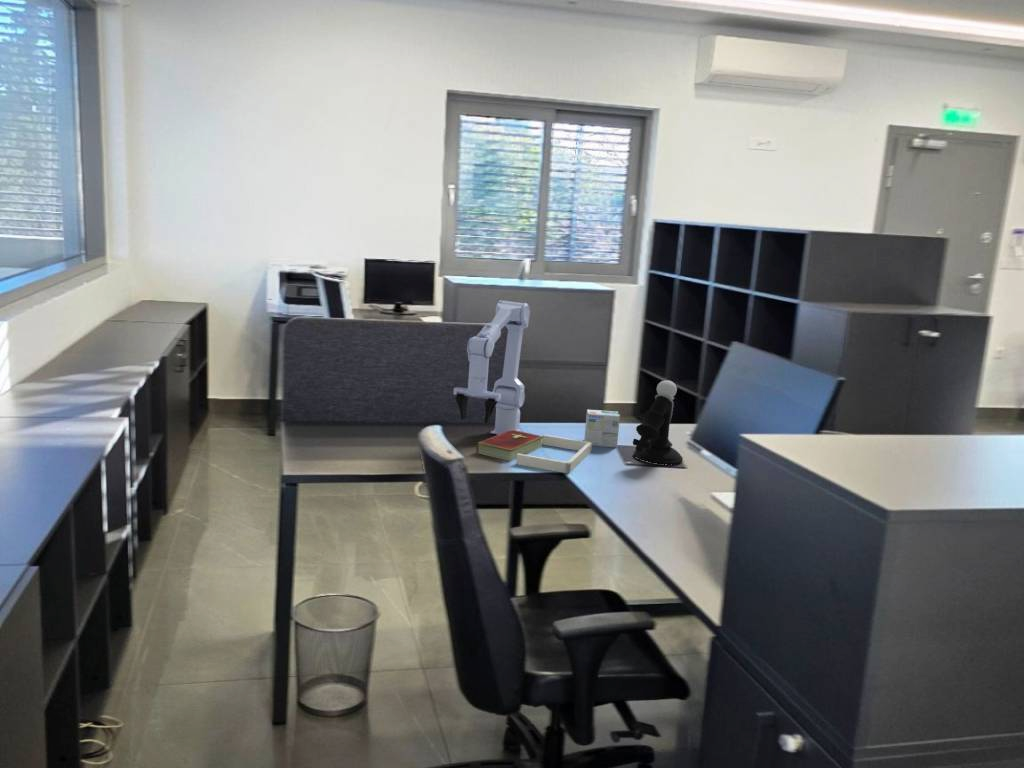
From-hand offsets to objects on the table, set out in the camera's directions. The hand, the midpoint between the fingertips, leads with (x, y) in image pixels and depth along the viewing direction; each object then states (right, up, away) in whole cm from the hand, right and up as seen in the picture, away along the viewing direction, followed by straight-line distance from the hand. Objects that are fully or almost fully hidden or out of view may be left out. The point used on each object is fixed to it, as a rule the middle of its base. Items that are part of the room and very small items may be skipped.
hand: (475, 420), depth 260 cm
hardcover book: (+11, -10, +6) cm, 16 cm away
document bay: (+24, -11, +2) cm, 26 cm away
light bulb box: (+40, -9, +21) cm, 46 cm away
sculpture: (+55, -13, +6) cm, 57 cm away
